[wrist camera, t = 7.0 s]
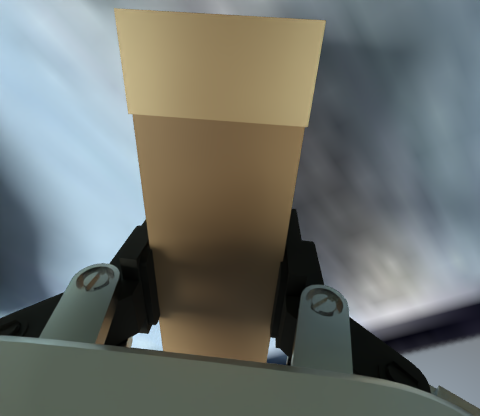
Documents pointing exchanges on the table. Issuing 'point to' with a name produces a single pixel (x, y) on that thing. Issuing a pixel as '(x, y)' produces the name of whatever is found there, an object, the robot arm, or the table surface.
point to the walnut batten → (218, 164)
